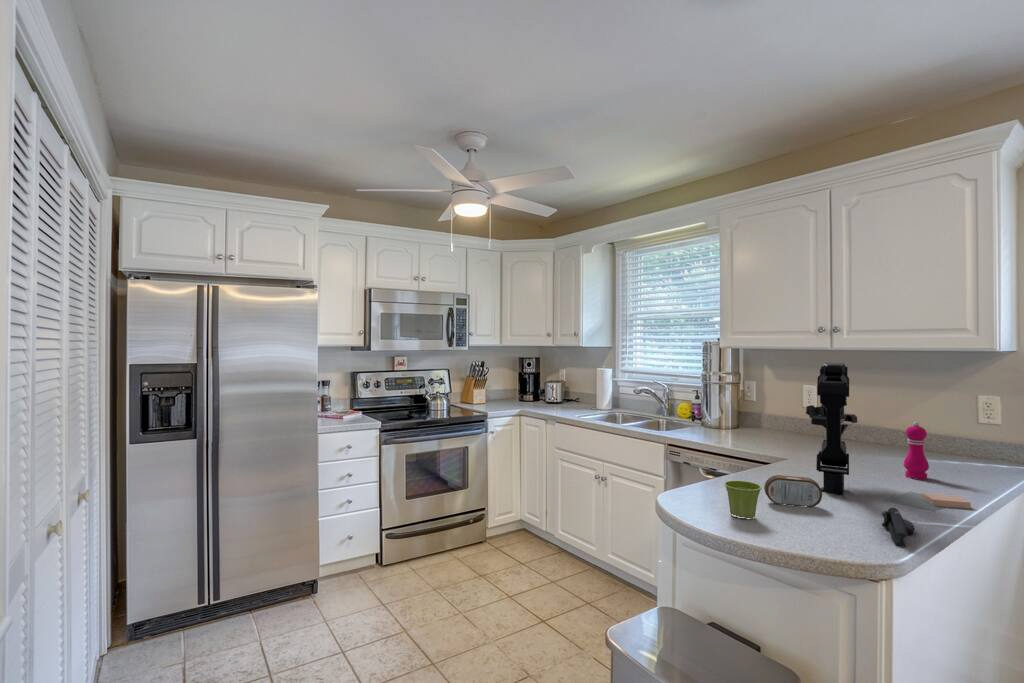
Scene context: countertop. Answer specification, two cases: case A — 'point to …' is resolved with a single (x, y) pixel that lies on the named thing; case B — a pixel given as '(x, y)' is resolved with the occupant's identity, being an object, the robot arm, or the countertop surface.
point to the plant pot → (742, 497)
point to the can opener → (897, 526)
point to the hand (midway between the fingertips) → (834, 444)
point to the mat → (913, 501)
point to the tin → (793, 491)
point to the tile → (946, 500)
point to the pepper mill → (916, 453)
